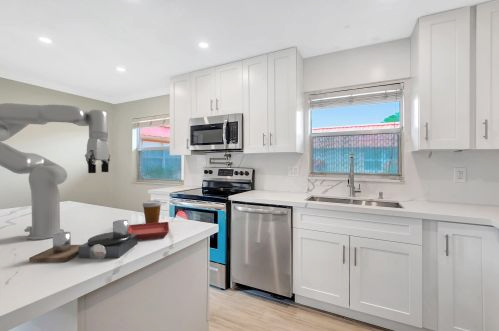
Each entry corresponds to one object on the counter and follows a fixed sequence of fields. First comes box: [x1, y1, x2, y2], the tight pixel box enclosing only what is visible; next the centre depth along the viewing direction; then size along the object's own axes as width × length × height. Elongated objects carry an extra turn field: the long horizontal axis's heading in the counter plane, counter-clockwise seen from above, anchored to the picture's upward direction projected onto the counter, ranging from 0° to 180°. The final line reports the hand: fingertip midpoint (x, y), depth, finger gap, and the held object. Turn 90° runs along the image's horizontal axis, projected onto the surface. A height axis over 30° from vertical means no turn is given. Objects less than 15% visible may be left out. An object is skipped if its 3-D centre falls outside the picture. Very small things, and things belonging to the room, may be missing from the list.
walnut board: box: [28, 244, 82, 263], centre depth 84 cm, size 12×12×2 cm
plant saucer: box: [128, 221, 170, 241], centre depth 108 cm, size 18×18×3 cm
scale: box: [77, 231, 139, 260], centre depth 87 cm, size 14×15×6 cm
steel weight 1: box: [52, 231, 72, 253], centre depth 84 cm, size 5×5×6 cm
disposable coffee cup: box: [142, 200, 162, 224], centre depth 125 cm, size 10×10×12 cm
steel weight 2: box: [112, 219, 129, 239], centre depth 88 cm, size 5×5×6 cm
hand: (98, 172), depth 111 cm, fingers open, 9 cm apart
